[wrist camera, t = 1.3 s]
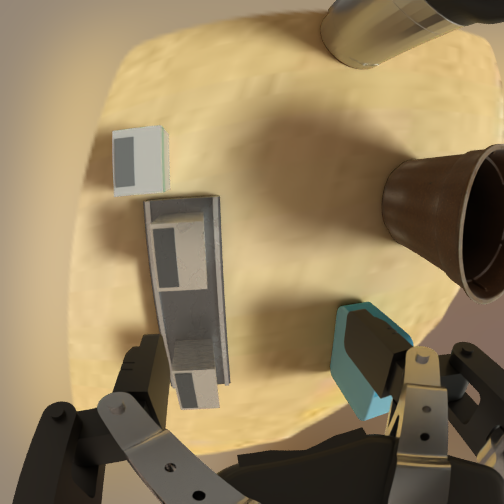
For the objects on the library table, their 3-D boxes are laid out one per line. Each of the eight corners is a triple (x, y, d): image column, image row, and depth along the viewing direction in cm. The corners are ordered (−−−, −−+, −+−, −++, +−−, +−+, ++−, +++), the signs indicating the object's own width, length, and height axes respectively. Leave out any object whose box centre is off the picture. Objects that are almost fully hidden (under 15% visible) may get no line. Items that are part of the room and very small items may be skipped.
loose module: (128, 138, 27) (111, 130, 21) (169, 134, 28) (160, 124, 22) (130, 192, 29) (113, 197, 23) (170, 189, 30) (162, 193, 24)
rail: (146, 200, 29) (128, 208, 22) (219, 195, 30) (223, 202, 23) (172, 379, 36) (168, 419, 28) (229, 376, 37) (235, 415, 30)
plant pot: (362, 265, 36) (446, 320, 20) (365, 139, 31) (463, 129, 16) (444, 255, 38) (520, 290, 23) (449, 152, 34) (534, 157, 18)
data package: (354, 366, 40) (391, 415, 29) (328, 372, 40) (362, 426, 28) (365, 297, 37) (417, 340, 26) (337, 302, 36) (384, 350, 25)
